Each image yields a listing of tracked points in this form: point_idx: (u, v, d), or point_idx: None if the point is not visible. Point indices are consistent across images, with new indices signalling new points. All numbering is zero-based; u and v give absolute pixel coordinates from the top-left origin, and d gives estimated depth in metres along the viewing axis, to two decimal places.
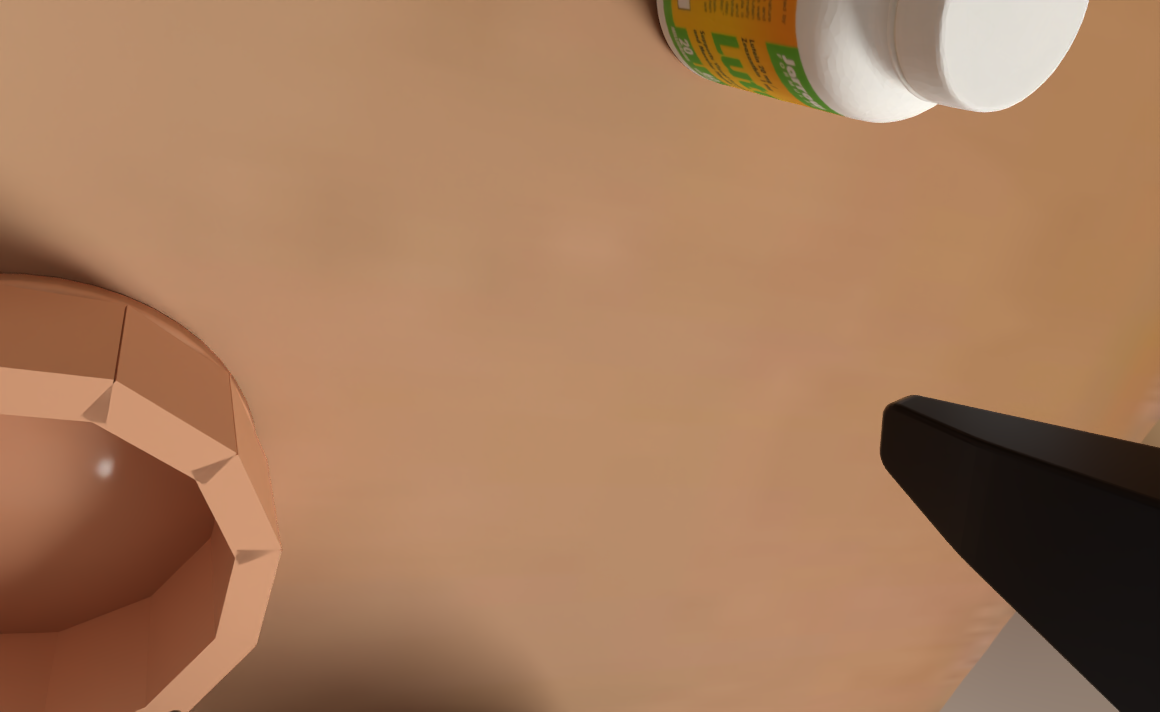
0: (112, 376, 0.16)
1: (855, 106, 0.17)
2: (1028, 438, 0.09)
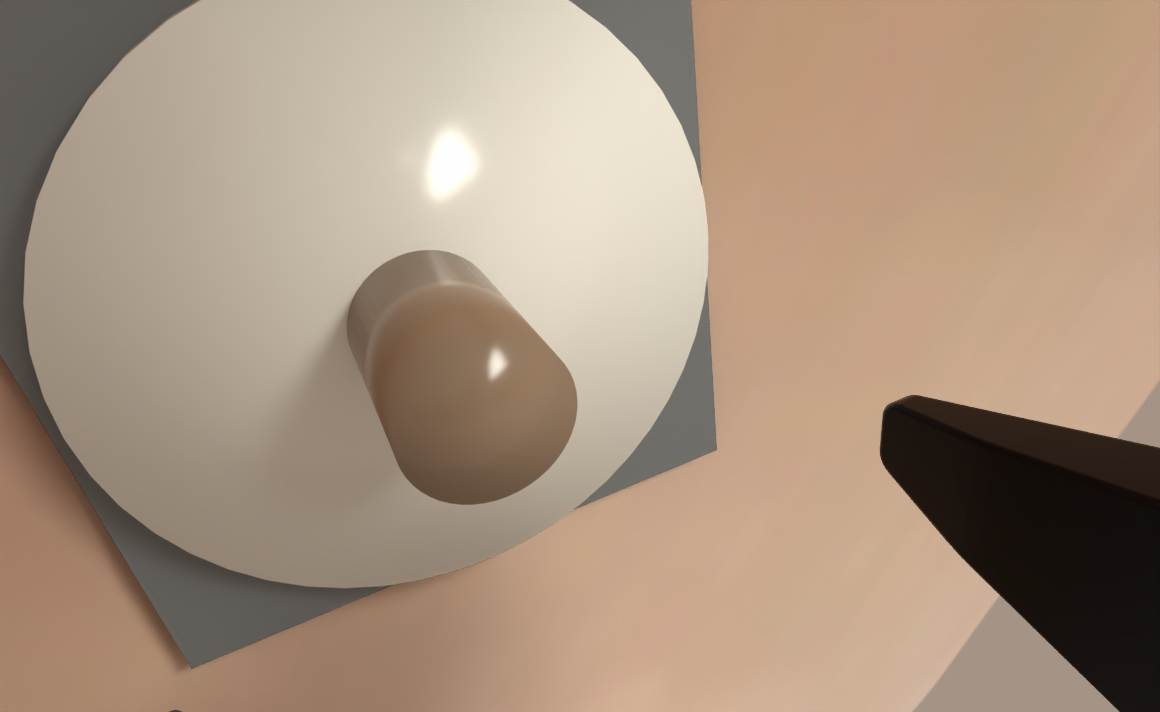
0: None
1: None
2: (1028, 438, 0.09)
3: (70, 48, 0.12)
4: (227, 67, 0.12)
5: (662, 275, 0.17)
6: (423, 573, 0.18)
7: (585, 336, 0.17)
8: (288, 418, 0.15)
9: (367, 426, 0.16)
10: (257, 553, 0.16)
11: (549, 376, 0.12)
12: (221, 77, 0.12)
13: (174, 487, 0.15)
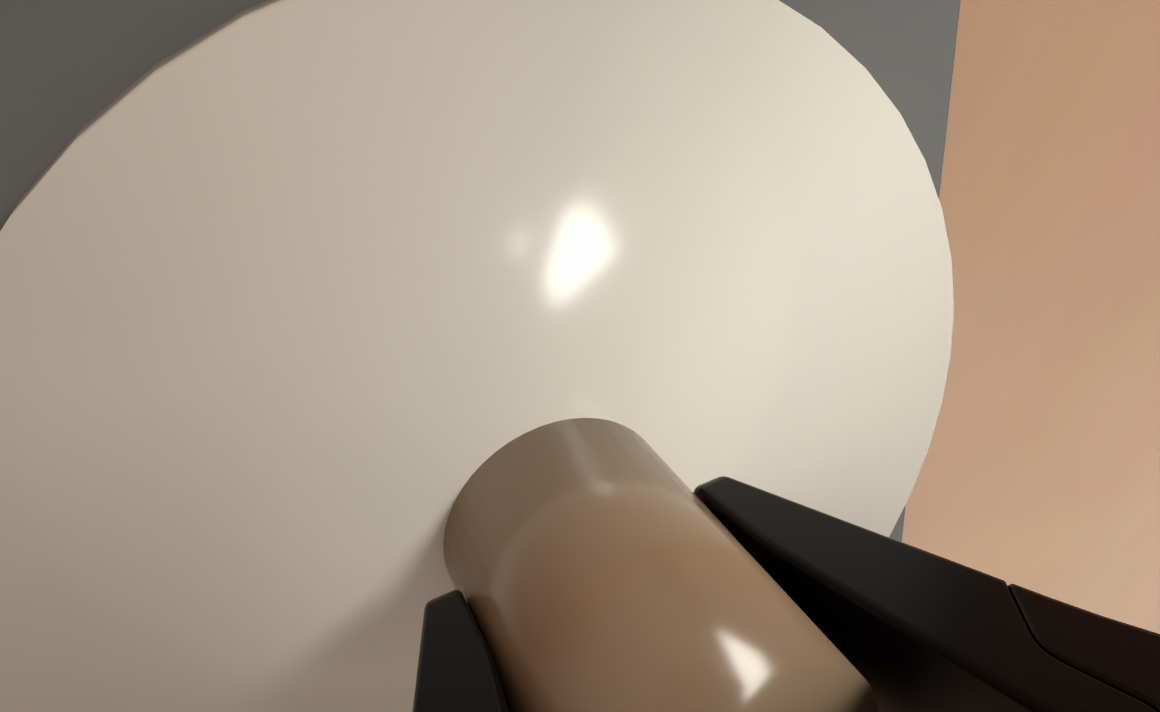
0: None
1: None
2: (815, 539, 0.08)
3: None
4: (265, 155, 0.07)
5: (883, 418, 0.12)
6: None
7: None
8: (349, 677, 0.10)
9: None
10: None
11: (844, 708, 0.07)
12: (253, 173, 0.07)
13: None
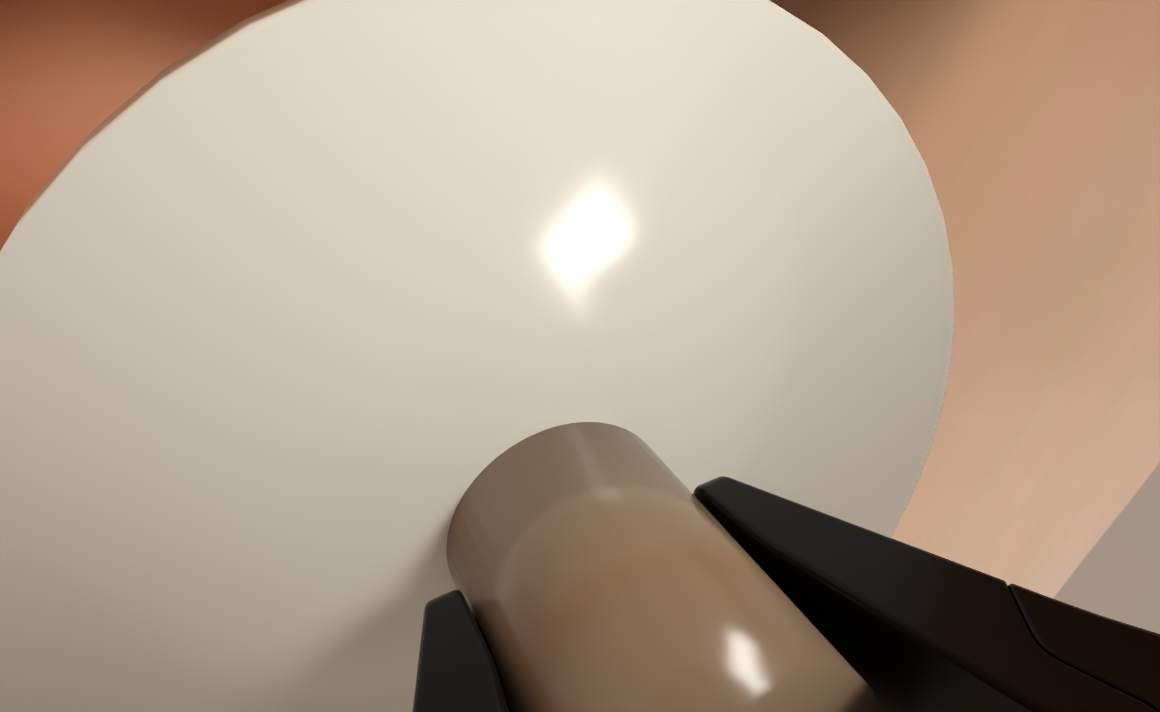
0: None
1: None
2: (815, 539, 0.08)
3: None
4: (271, 163, 0.07)
5: (884, 421, 0.12)
6: None
7: None
8: (353, 679, 0.10)
9: None
10: None
11: None
12: (258, 180, 0.07)
13: None
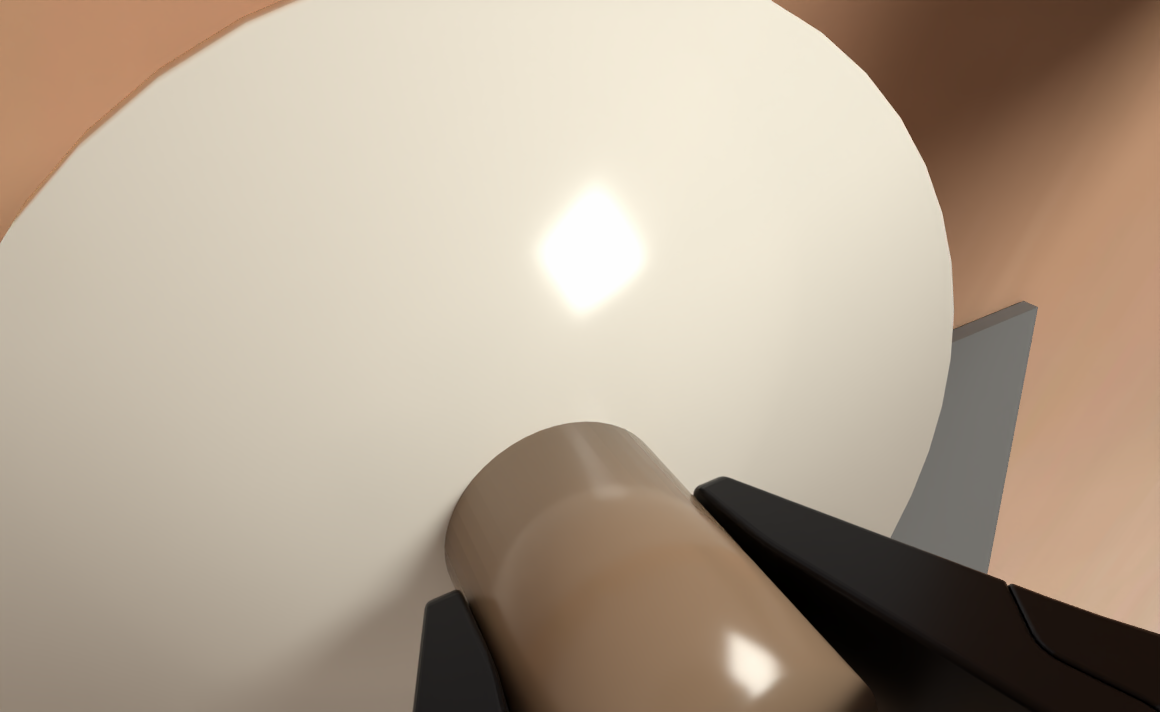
0: None
1: None
2: (815, 539, 0.08)
3: None
4: (267, 161, 0.07)
5: (883, 421, 0.12)
6: None
7: None
8: (350, 680, 0.10)
9: None
10: None
11: None
12: (255, 179, 0.07)
13: None
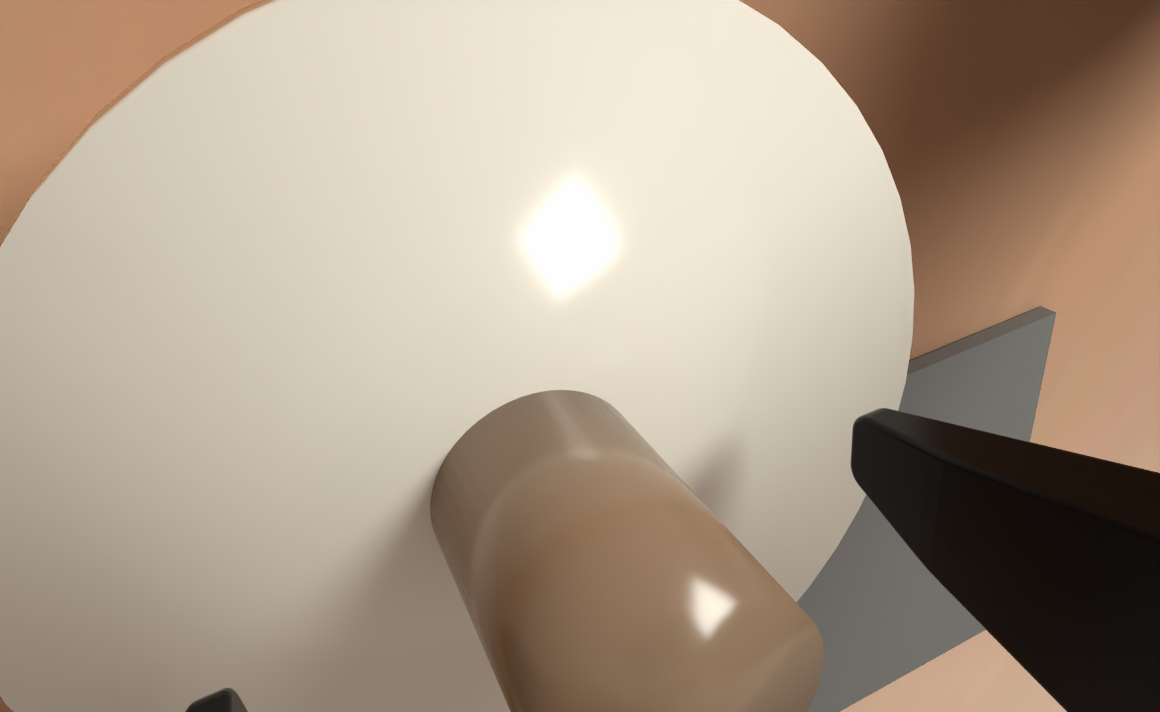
0: None
1: None
2: (995, 454, 0.09)
3: None
4: (263, 141, 0.07)
5: (849, 396, 0.12)
6: None
7: (745, 483, 0.12)
8: (342, 633, 0.10)
9: (452, 629, 0.11)
10: None
11: (791, 645, 0.07)
12: (252, 156, 0.07)
13: None
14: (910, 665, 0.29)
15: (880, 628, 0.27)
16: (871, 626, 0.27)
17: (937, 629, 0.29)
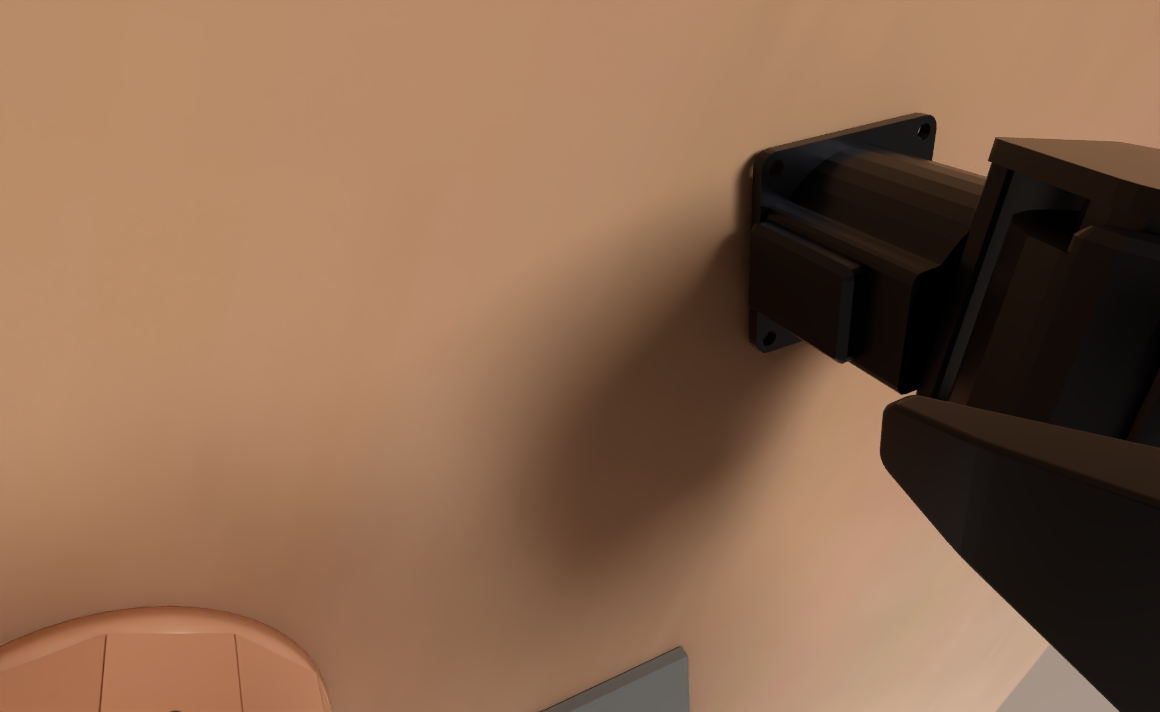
0: None
1: None
2: (1028, 438, 0.09)
3: None
4: None
5: None
6: None
7: None
8: None
9: None
10: None
11: None
12: None
13: None
14: None
15: None
16: None
17: None
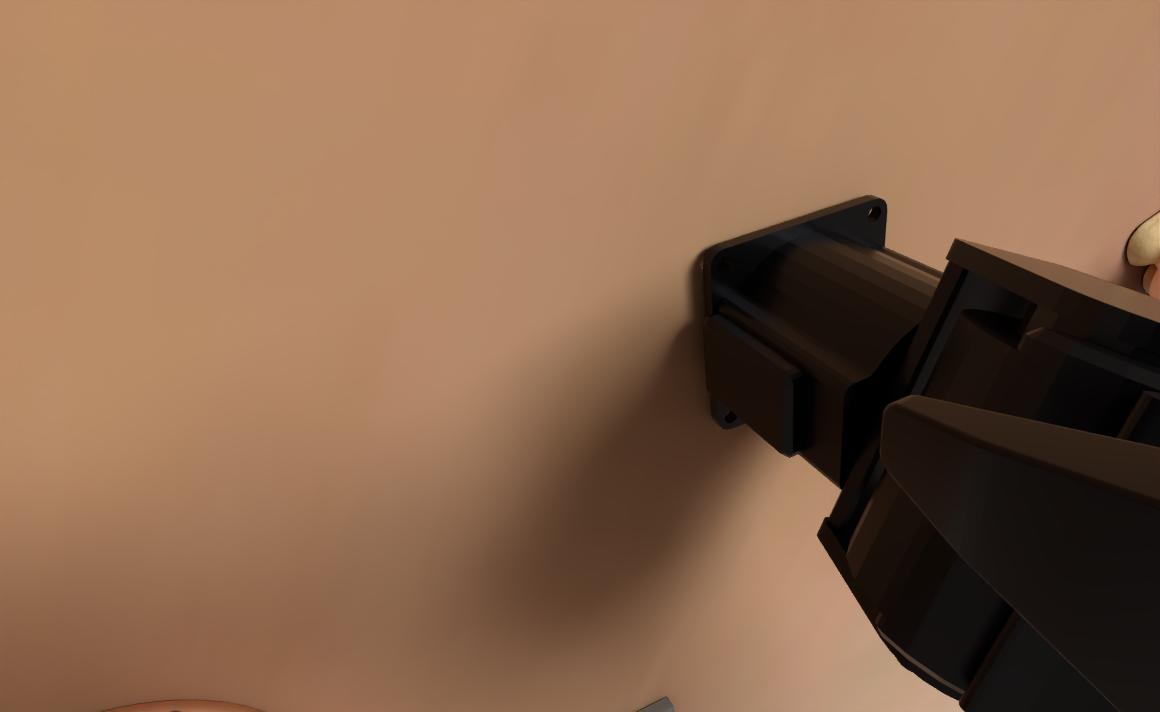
0: None
1: None
2: (1028, 438, 0.09)
3: None
4: None
5: None
6: None
7: None
8: None
9: None
10: None
11: None
12: None
13: None
14: None
15: None
16: None
17: None
